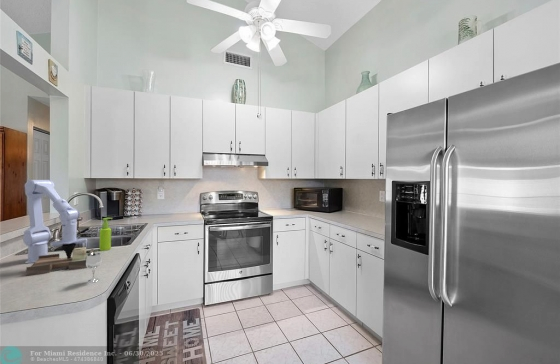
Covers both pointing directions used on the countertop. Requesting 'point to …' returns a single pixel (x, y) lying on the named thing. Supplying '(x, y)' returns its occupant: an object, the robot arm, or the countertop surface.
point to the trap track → (55, 264)
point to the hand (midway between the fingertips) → (69, 258)
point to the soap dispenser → (105, 236)
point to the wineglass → (93, 264)
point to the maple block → (79, 253)
